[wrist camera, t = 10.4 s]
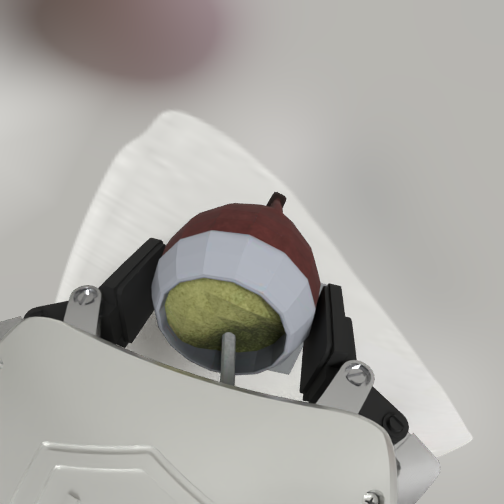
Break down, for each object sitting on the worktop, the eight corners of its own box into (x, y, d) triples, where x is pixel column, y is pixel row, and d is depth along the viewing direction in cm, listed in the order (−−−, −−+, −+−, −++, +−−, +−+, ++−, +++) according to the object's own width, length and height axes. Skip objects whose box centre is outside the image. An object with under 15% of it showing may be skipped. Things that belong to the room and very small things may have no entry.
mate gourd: (227, 158, 14) (-44, 390, 1) (351, 225, 15) (409, 541, 2) (184, 260, 18) (49, 464, 5) (288, 312, 19) (247, 543, 6)
